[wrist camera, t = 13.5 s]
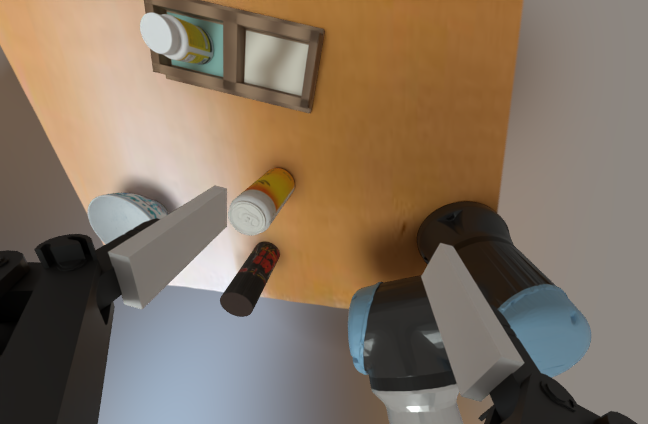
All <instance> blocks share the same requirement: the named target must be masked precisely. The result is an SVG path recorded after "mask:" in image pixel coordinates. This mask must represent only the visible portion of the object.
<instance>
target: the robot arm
mask: <svg viewBox="0 0 648 424" xmlns="http://www.w3.org/2000/svg"><path fill="white" fill-rule="evenodd" d="M226 227H227V188H223V187H219V186H213V187H212V188H210V189H208V190H207V191H205V192H204V193H202V194H200V195H199V196H197V197H196V198H194V199H192V200H191V201H189V202H187V203H186V204H184V205H183V206H181V207H179V208H178V209H176V210H175V211H173V212H171V213H170V214H168V215H167V216H165V217H163V218H162V219H158V218H155V219H152V220H149V221H146V222H143V223H141V224H140V225H138V226H136V227H135V228H133V230H132V229H131V230H129V231H128V232H126V233H125V234H124V235H121V236H119V237H118V238H116V239H114V240H112V241H111V242H109V243H107V244H106V245H104V246H102V247H101V248H99V249H97V250H95V248H94V245H93V242H92V239H91V238H90V237H88V236H87V235H82V234H69V235H63V236H58V237H55V238H52V239H49V240H47V241H45V242H43V243H41V244H39V245H38V246H37V247H36V248H35V252H36V254H37V256H38V258H39V260H40V262H41V263H34V262H27V261H26V259H25V257H24V255H23V254H22V253H20V252H18V251H0V424H98V418H99V410H100V404H101V397H102V390H103V383H104V376H105V369H106V362H107V355H108V349H109V341H110V334H111V328H112V321H113V313H114V303H113V301H114V300H115V299H117V298H118V297H119V296H120V295H122V298H123V301H124V304H125V305H128V306H132V307H136V308H139V309H143V308H144V307H145V306H146V305H147V304H148V303H149V302H150V301H151V300H152V299H153V298H154V297H155V296H156V295H157V294H158V293H159V292H160V291H161V290H162V289H164V288H165V287H166V285H168V284H169V283H170V282H171V281H172V280H173V279H174V278H175V277H176V276H177V275H178V274H179V273H180V272H181V271H182V270H183V269H184V268H185V267H186V266H187V265H188V264H189V263H190V262H191V261H192V260H193V259H194V258H195V257H196V256H197V255H198V254H199V253H200V252H201V251H202V250H203V249H204V248H205V247H206V246H207V245H208V244H209V243H210V242H211V241H212V240H213V239H214V238H215V237H216V236H217V235H218V234H219V233H220V232H221V231H222V230H223V229H225V228H226ZM417 245H418V249H419V251H420V254H421V256H422V258H423V259H424V261H425V262H426V263H427V264H428V265H427V267H426V269H425V271H424V273H423V274H422V275H419V276H414V277H409V278H404V279H400V280H395V281H390V282H385V283H383V282H378V283H377V284H376V285H372V286H368V287H364V288H361V289H359V290H358V291H357V292H356V293H355V294H354V296H353V297H352V300H351V304H350V307H349V315H348V338H349V347H350V352H351V356H353V363H354V366H355V368H356V369H357V370H358V371H359V372H360V373H363V374H364V375H367V374H369V378H370V384H371V389H372V392H373V393H374V394H375V395H376V396H377V397H378V398H379V399H380V400H381V401H382V402H383V403H384V404H385V405H386V408H387V413H388V418H389V423H390V424H463V421H462V418H461V415H460V412H459V409H458V405H457V402H456V400H457V396H458V394H459V392H460V394H461V396H462V397H466V398H469V399H473V400H476V401H482V400H483V399H484V398H485V397H486V396H488V395H489V394H490V396H491V398H492V401H493V403H494V405H493V406H492V407H491V408H490V409H488V410H487V411H486V412H484V413H483V414H482V415H481V416H480V417H479V419H480V420H481V421H483V420H484V419H485V418H486V420H485V423H484V424H637V423H636V422H634V421H633V420H631V419H630V418H628V417H627V416H624V415H622V414H620V413H618V412H612V411H610V412H608V413H607V414H605V415H603V416H602V417H600V416H598V415H596V414H594V413H593V412H591V411H589V410H587V409H585V408H583V407H581V406H580V405H578V404H577V403H576V402H575V400H574V399H573V397H572V396H571V395H570V394H569V393H568V391H567V390H566V389H565V388H564V387H563V386H562V385H560V384H559V383H558V382H557V381H556V380H554V379H552V377H554V376H557V375H559V374H561V373H563V372H565V371H566V370H568V369H570V368H571V367H572V366H573V365H575V364H576V363H577V362H578V361H580V360H581V358H582V357H583V356H584V355H585V353H586V352H587V350H588V348H589V346H590V342H591V330H590V326H589V324H588V322H587V320H586V319H585V317H584V316H583V314H582V313H581V312H580V311H579V310H578V309H577V308H576V307H575V306H574V304H573V303H572V302H571V301H570V300H569V299H568V297H567V295H566V293H564V291H563V290H562V289H561V288H559V287H557V286H556V285H555V284H554V283H552V282H551V281H550V280H549V279H548V278H547V277H546V276H545V275H544V274H543V273H542V272H541V271H540V270H539V269H538V268H537V267H536V266H535V265H534V264H533V263H532V262H531V261H529V260H528V258H526V257H525V256H524V255H523V254H522V253H521V252H520V251H519V250H518V249H517V248H516V247H515V246H514V245H513V242H512V240H511V237H510V234H509V230H508V227H507V225H506V223H505V221H504V220H503V219H502V218H501V216H499V215H498V214H497V213H496V212H495V211H494V210H492V209H491V208H489V207H488V206H486V205H483V204H480V203H476V202H457V203H452V204H449V205H446V206H444V207H441V208H439V209H438V210H436V211H435V212H433V213H432V214H431V215H429V216H428V217H427V218H426V219H425V221H424V222H423V223H422V225H421V227H420V229H419V231H418V235H417Z"/></svg>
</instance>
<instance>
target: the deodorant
mask: <svg viewBox="0 0 648 424" xmlns="http://www.w3.org/2000/svg"><path fill="white" fill-rule="evenodd" d="M279 256H280V253H279V250H278V248H277V247H276V246H275V245H273V244H272V243H269V242H261V243H259V244H257V246H256V247H255V248H254V250H253V251H252V253H251V254H250V256H249V257H248V259H247V260H246V261H245V263H244V264H243V266H242V267H241V269H240V270H239V272H238V273H237V274H236V276H235V277H234V279H233V280H232V282H231V283H230V285H229V286H228V288H227V289H226V290H225V292H224V293H223V295H222V296H221V298H220V303H221V305H222V307H223V308H224V309H225V310H226V311H227V312H229V313H230V314H232V315H235V316H240V317H244V316H248V315H250V314H251V313H252V311H253V309H254V307H255V305H256V303H257V301H258V299H259V297H260V295H261V293H262V291H263V289H264V287H265V285H266V283H267V281H268V279H269V277H270V275H271V273H272V271H273V269H274V267H275V265H276V263H277V261H278V259H279Z"/></svg>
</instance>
